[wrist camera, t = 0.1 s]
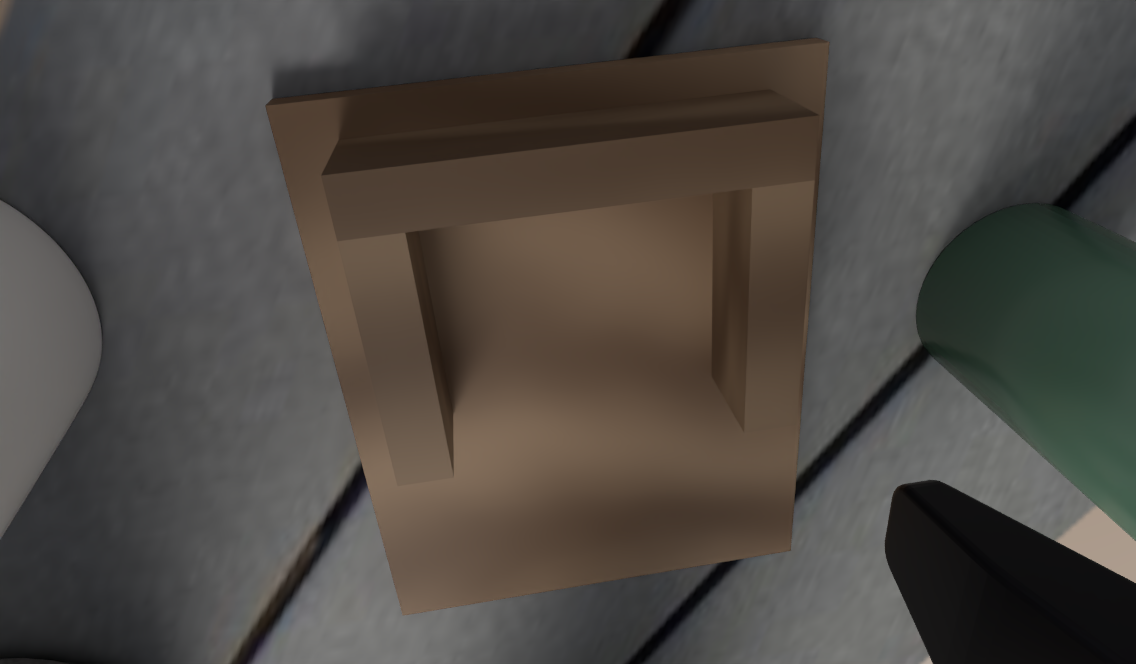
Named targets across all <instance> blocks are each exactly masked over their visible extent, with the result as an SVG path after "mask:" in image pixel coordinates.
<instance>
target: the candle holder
mask: <svg viewBox="0 0 1136 664" xmlns="http://www.w3.org/2000/svg"><path fill="white" fill-rule="evenodd" d="M101 354H102V331H101V324H100V319H99V315H98V311H97V308H96V305H95V302H94V299H93V297H92V294H91V292H90V290H89V288H88V286H87V284H86V282H85V280H84V279H83V277H82V275H81V274H80V272H79V271H78V269H77V268H76V266H75V265H74V263H73V262H72V261H71V259H70V258H69V257H68V256H67V254H66V253H65V252H64V251H63V250H62V249H61V247H60V246H59V245H58V244H57V243H56V242H55V241H54V240H53V239H52V238H51V237H50V236H49V235H48V234H47V233H46V232H44V231H43V230H42V229H41V228H40V227H39V226H38V225H36V224H35V223H34V222H33V221H31V220H30V219H29V218H27V217H26V216H25V215H23V214H22V213H20V212H19V211H18V210H16V209H15V208H13V207H11V206H10V205H8V204H7V203H5V202H3V201H2V200H0V540H1V539H2V537H3V536H4V534H5V532H6V531H7V529H8V527H9V526H10V524H11V523H12V521H13V519H14V518H15V516H16V514H17V513H18V511H19V510H20V508H21V506H22V505H23V503H24V501H25V500H26V498H27V497H28V495H29V493H30V492H31V490H32V488H33V487H34V485H35V484H36V482H37V480H38V479H39V477H40V475H41V474H42V472H43V471H44V469H45V467H46V466H47V464H48V462H49V461H50V459H51V457H52V456H53V454H54V453H55V451H56V449H57V448H58V446H59V444H60V443H61V441H62V439H63V438H64V436H65V434H66V433H67V431H68V429H69V428H70V426H71V424H72V423H73V421H74V419H75V418H76V416H77V414H78V412H79V411H80V409H81V407H82V405H83V404H84V402H85V400H86V398H87V396H88V394H89V392H90V390H91V388H92V386H93V384H94V381H95V379H96V376H97V373H98V369H99V365H100V361H101Z"/></svg>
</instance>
